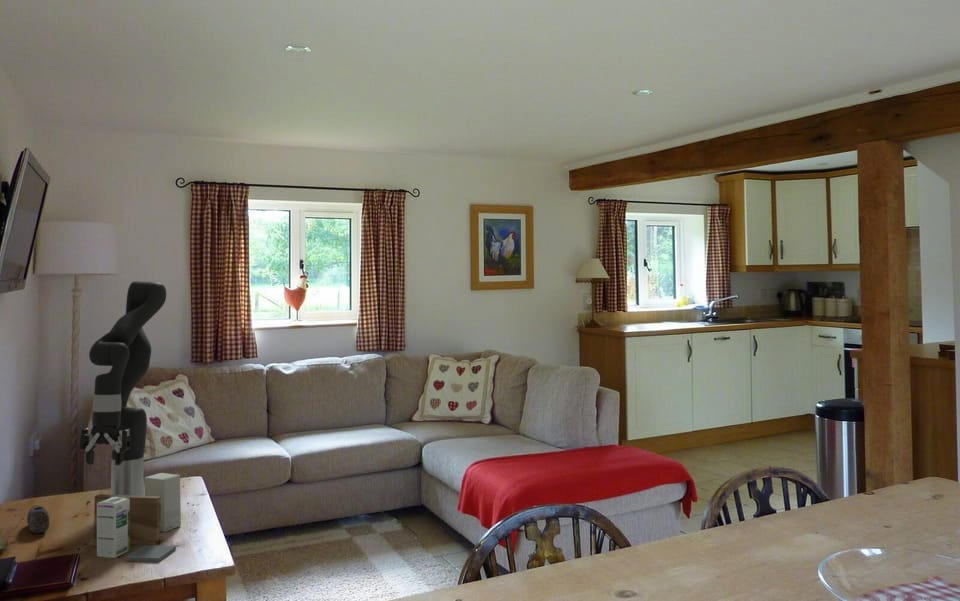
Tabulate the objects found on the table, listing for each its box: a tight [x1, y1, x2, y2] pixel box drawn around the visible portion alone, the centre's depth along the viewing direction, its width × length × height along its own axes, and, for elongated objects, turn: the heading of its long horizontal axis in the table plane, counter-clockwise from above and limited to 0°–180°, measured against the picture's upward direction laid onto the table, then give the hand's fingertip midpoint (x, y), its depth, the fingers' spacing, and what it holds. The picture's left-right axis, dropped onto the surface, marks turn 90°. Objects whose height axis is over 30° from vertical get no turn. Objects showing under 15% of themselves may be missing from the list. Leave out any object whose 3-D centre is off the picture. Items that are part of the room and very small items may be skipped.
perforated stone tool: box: [26, 504, 50, 534], centre depth 208 cm, size 15×5×7 cm, turn 36°
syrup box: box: [96, 497, 131, 559], centre depth 189 cm, size 6×6×14 cm
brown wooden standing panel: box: [89, 493, 165, 547], centre depth 197 cm, size 6×18×13 cm, turn 86°
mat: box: [124, 545, 177, 563], centre depth 188 cm, size 9×9×1 cm
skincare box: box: [143, 472, 182, 533], centre depth 211 cm, size 8×7×16 cm
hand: (104, 464), depth 209 cm, fingers open, 8 cm apart
